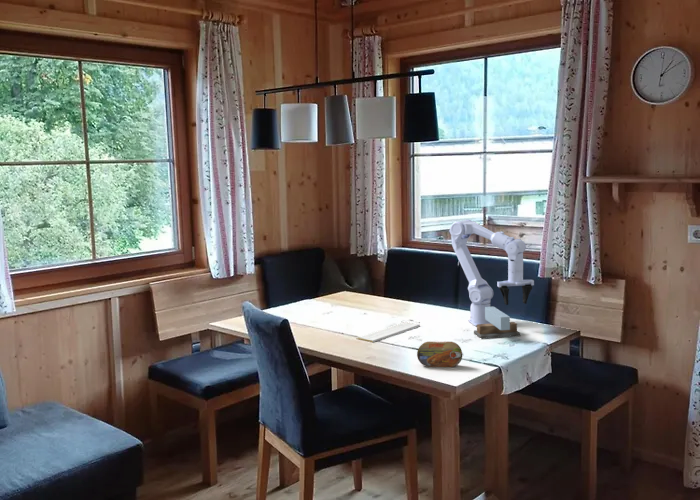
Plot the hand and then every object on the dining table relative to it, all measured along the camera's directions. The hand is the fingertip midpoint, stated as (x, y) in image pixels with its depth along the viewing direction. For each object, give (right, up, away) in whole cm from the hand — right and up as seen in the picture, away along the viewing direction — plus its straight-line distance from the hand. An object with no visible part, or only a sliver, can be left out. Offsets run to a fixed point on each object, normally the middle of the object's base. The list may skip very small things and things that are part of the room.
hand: (515, 303), depth 270 cm
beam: (-9, -7, -7) cm, 13 cm away
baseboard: (-51, -13, +3) cm, 52 cm away
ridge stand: (-9, -12, -6) cm, 16 cm away
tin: (-36, -18, -42) cm, 58 cm away
